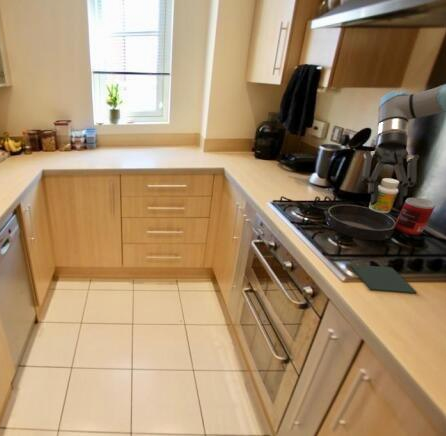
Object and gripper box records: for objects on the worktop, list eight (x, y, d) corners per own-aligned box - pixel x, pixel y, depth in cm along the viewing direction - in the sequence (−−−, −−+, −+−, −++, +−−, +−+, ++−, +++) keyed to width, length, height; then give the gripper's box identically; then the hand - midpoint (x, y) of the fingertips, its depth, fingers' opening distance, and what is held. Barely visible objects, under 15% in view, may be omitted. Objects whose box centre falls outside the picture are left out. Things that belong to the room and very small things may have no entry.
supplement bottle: (366, 209, 99) (377, 180, 94) (370, 204, 102) (381, 176, 98) (388, 215, 95) (400, 185, 91) (391, 209, 99) (403, 180, 94)
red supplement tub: (420, 228, 113) (433, 200, 108) (423, 237, 107) (437, 209, 102) (393, 222, 117) (405, 195, 112) (394, 231, 111) (407, 203, 106)
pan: (372, 215, 123) (376, 205, 121) (405, 242, 105) (410, 232, 103) (316, 212, 126) (319, 203, 124) (339, 238, 108) (343, 228, 106)
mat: (391, 268, 93) (391, 267, 93) (416, 294, 83) (417, 292, 83) (350, 266, 94) (351, 264, 94) (370, 290, 85) (370, 288, 85)
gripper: (421, 146, 100) (418, 214, 94) (352, 141, 106) (345, 204, 101) (435, 132, 93) (432, 205, 87) (361, 128, 100) (354, 195, 94)
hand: (386, 204), depth 94 cm, fingers closed on supplement bottle, 5 cm apart
